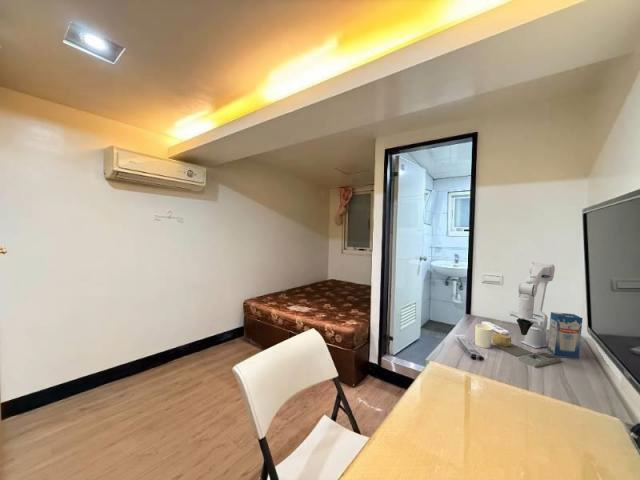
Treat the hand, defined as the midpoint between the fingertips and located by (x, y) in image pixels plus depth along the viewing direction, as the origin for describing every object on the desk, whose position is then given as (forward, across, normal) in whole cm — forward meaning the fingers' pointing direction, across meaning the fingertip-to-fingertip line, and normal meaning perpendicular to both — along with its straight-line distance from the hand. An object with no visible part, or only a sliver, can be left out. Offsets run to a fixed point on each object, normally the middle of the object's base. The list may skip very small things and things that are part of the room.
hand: (523, 334), depth 133 cm
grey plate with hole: (+10, +7, +1) cm, 12 cm away
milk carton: (+10, +6, +20) cm, 23 cm away
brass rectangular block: (+7, -7, 0) cm, 10 cm away
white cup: (+10, -13, -11) cm, 20 cm away
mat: (+10, -5, 0) cm, 11 cm away
